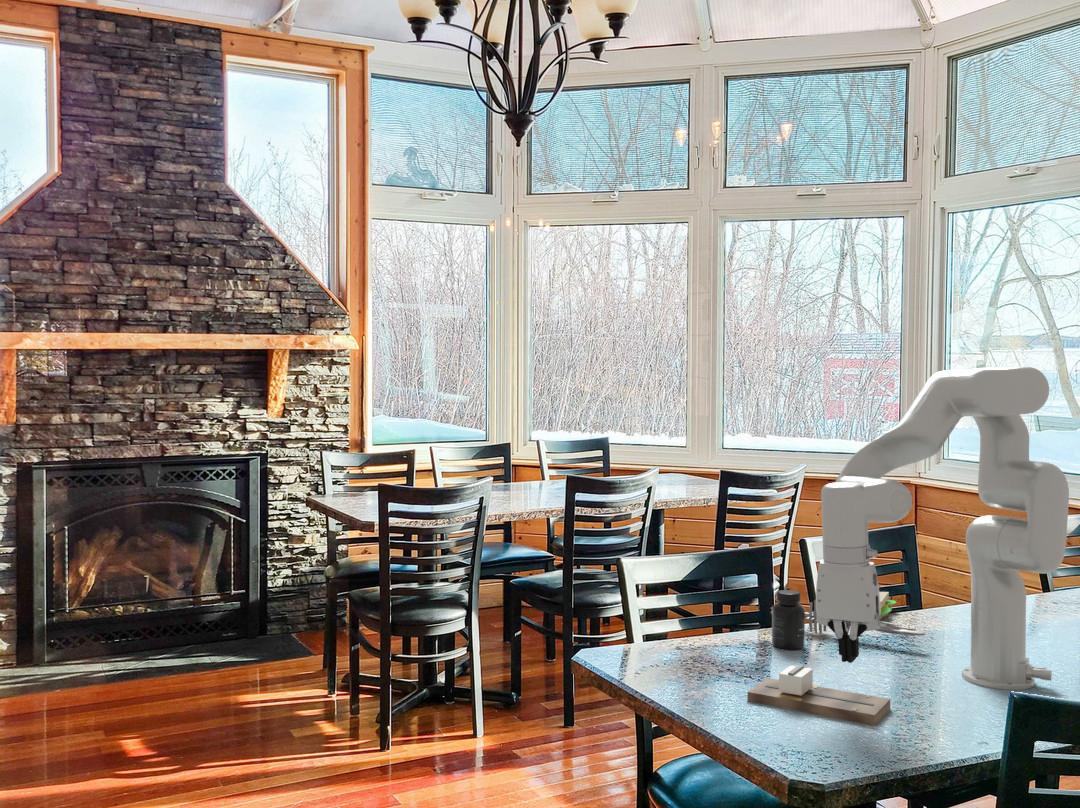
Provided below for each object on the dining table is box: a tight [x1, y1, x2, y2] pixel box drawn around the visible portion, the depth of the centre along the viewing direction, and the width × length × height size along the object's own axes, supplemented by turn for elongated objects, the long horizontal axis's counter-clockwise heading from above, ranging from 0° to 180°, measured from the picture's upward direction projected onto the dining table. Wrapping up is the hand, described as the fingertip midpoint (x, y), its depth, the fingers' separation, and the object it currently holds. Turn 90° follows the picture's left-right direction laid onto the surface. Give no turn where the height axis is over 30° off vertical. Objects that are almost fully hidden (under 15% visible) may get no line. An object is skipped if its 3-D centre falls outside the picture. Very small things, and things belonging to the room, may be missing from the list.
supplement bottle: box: [771, 589, 806, 651], centre depth 208 cm, size 7×7×12 cm
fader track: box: [747, 677, 891, 726], centre depth 169 cm, size 22×10×2 cm, turn 56°
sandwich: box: [879, 591, 897, 621], centre depth 242 cm, size 15×20×5 cm
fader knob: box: [778, 664, 814, 696], centre depth 171 cm, size 4×6×4 cm, turn 146°
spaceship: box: [770, 599, 926, 637], centre depth 215 cm, size 8×35×8 cm, turn 51°
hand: (849, 659), depth 167 cm, fingers closed
